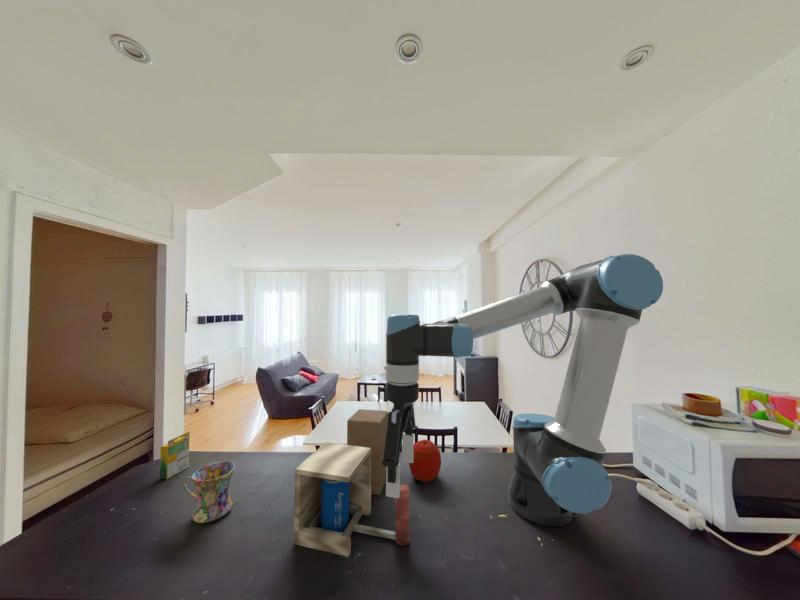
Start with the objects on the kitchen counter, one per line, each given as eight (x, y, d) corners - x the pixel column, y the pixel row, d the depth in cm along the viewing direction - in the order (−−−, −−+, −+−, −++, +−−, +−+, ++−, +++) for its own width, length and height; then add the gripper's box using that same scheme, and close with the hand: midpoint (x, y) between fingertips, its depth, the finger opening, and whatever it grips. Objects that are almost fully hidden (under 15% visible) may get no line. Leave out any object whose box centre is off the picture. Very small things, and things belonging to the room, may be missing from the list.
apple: (419, 465, 93) (419, 430, 93) (447, 475, 87) (447, 437, 88) (402, 480, 85) (402, 441, 85) (431, 492, 79) (431, 450, 79)
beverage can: (324, 542, 62) (325, 486, 62) (318, 522, 67) (319, 471, 68) (352, 531, 65) (352, 478, 65) (344, 513, 70) (345, 465, 71)
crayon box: (181, 466, 93) (183, 430, 93) (189, 467, 92) (190, 431, 93) (158, 478, 85) (160, 440, 86) (166, 480, 85) (168, 441, 85)
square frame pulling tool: (414, 525, 66) (413, 477, 67) (404, 559, 57) (404, 503, 57) (327, 508, 72) (327, 464, 72) (305, 537, 62) (306, 486, 63)
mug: (241, 500, 75) (242, 460, 76) (221, 526, 66) (222, 480, 67) (194, 502, 75) (196, 461, 75) (168, 529, 65) (170, 482, 66)
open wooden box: (370, 512, 71) (371, 447, 72) (348, 556, 58) (348, 477, 59) (324, 503, 74) (325, 442, 75) (293, 544, 61) (295, 469, 62)
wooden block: (380, 496, 77) (380, 422, 78) (346, 491, 79) (346, 420, 80) (388, 475, 87) (388, 410, 88) (358, 472, 89) (358, 408, 90)
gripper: (399, 370, 77) (398, 449, 76) (367, 395, 53) (364, 511, 51) (426, 371, 75) (426, 452, 74) (405, 399, 51) (404, 519, 50)
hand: (401, 477), depth 63 cm, fingers open, 13 cm apart
